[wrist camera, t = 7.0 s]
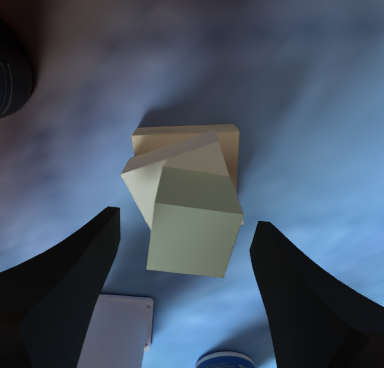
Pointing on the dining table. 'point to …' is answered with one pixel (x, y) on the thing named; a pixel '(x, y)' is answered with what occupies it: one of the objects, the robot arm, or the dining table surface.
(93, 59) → the dining table surface
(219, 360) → the beverage bottle
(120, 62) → the dining table surface
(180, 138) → the maple slab
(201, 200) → the sage block
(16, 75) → the supplement bottle
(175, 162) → the white slab
